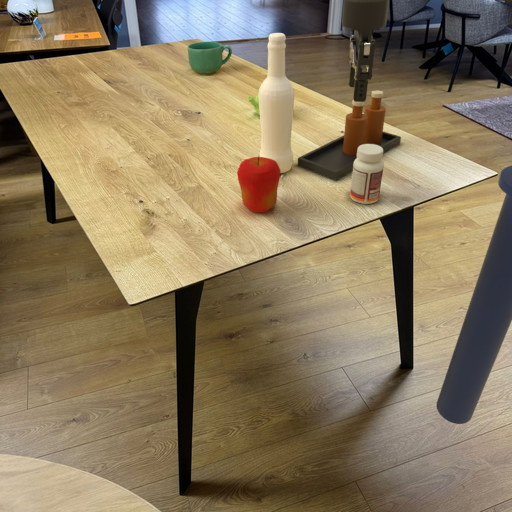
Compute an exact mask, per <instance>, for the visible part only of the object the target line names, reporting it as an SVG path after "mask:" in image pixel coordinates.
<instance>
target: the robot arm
mask: <svg viewBox="0 0 512 512" xmlns="http://www.w3.org/2000/svg"><path fill="white" fill-rule="evenodd" d="M389 6H390V0H343V5H342V15H341V16H342V17H341V18H342V19H341V26H342V27H343V28H345V29H346V30H349V31H351V33H350V37H349V50H348V60H349V61H348V64H349V66H350V67H349V76H348V77H349V79H348V86H349V87H350V88H353V97H352V100H353V99H354V101H355V102H364V101H365V102H366V100H367V95H368V84H369V81H371V80H372V78H373V67H374V57H375V48H376V40H375V39H374V37H373V32H374V31H379V30H382V29H384V28H385V27H386V26H387V21H388V13H389ZM363 69H365V71H364V72H363ZM365 102H364V103H365Z"/></svg>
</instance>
